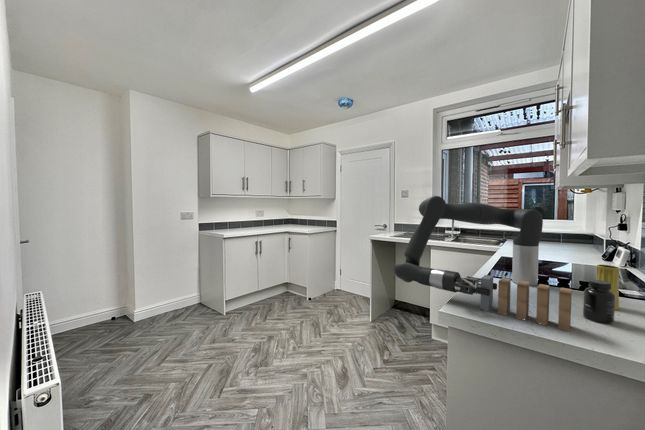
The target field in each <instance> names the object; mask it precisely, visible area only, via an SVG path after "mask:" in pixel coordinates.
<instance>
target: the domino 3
mask: <svg viewBox="0 0 645 430" xmlns="http://www.w3.org/2000/svg"><path fill="white" fill-rule="evenodd" d="M516 285H517V286H516V310H515V311H516V312H515V313H516V315H515V316H516V317H515V318H516V319H517V318H520V319H519V320H521V319H525V320H526V321H527V319H528V317H529V311H530V310H529V308H530V307H529V304H530V285H529V282H525V281H520V282H519V283H518V284H517V283H516ZM526 318H527V319H526ZM525 320H524V321H525Z"/></svg>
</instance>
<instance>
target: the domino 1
mask: <svg viewBox="0 0 645 430" xmlns="http://www.w3.org/2000/svg"><path fill="white" fill-rule="evenodd" d="M493 283H494V276H493V275H489V274H488V275H487V274H485V275H483V276H482V277H481V282H480V284H481V287H482V288H487V289H490V296H486V295H482V294H480V310H481V309H483V310H482V311H485V310H486V312H490V311H491V309H492V308H493V306H494V305H493V304H494V300H493V299H494V289H493Z"/></svg>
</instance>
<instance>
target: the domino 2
mask: <svg viewBox="0 0 645 430" xmlns="http://www.w3.org/2000/svg"><path fill="white" fill-rule="evenodd" d="M511 281H512V278H506V277H502V278H500V279H499V280H498V285H497V290H498V291H497V292H498V294H497V295H498V296H497V299H498V300H497V314H498V313H499V314H498V315H501V314H503V315H502V316H505V315H507V314H508V315H509V313H510V312H511V286H512V285H511V283H512V282H511ZM508 315H507V316H508Z"/></svg>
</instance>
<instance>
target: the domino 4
mask: <svg viewBox="0 0 645 430" xmlns="http://www.w3.org/2000/svg"><path fill="white" fill-rule="evenodd" d="M550 287H551V286H550V285H548V284H542V283H539V285H537V290H536V318H535V319H536V321H535V323H536V322H537V323H541V324H544V325H543V326H545V325H547V326H548V323H549V321H548V320H549V319H550V317H549V316H550V290H551V289H550ZM537 323H536V324H537ZM541 324H540V325H541Z"/></svg>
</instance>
